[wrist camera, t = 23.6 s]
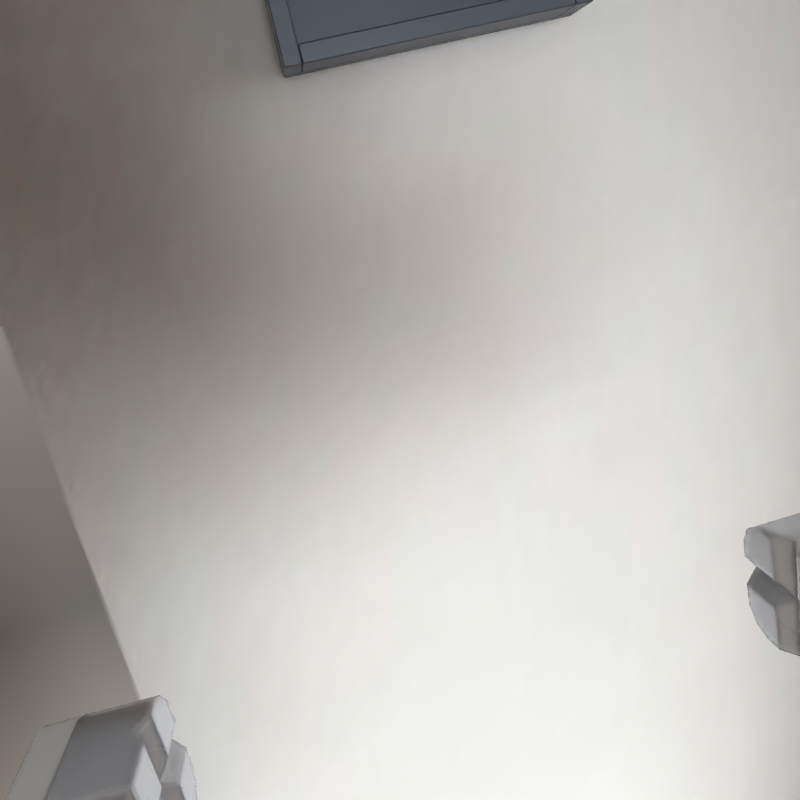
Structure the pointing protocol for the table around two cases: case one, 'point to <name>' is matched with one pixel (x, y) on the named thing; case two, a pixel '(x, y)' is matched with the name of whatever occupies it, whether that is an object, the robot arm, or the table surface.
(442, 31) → the tray
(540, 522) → the table surface
